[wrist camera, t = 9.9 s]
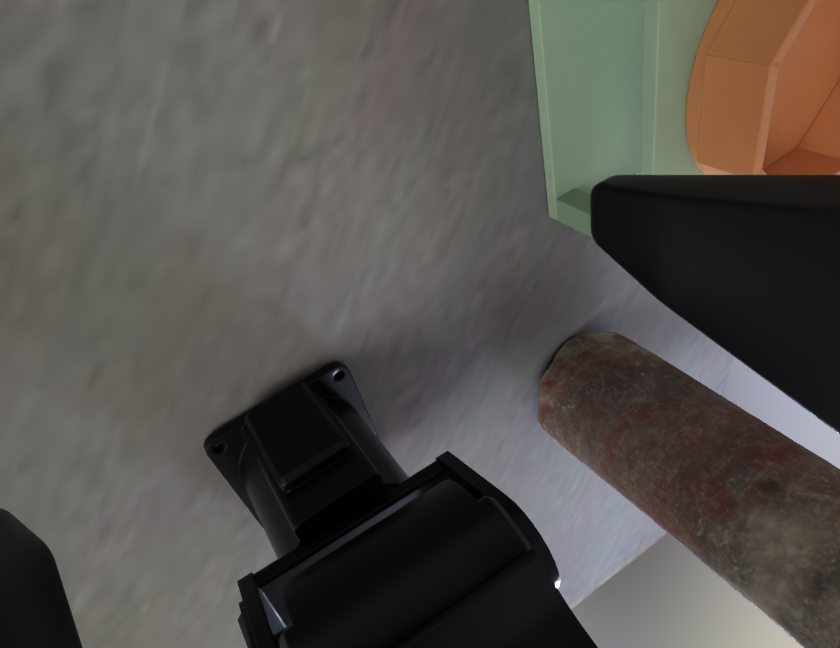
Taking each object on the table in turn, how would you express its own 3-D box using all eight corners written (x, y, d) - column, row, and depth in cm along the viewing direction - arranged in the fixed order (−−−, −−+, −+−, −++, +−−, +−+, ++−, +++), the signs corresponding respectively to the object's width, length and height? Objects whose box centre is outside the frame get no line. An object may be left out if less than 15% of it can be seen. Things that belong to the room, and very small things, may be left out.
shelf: (721, 116, 31) (837, 145, 27) (548, 217, 28) (649, 267, 24) (752, -172, 24) (921, -195, 19) (519, -80, 20) (662, -85, 16)
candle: (639, 324, 37) (1050, 569, 23) (592, 421, 40) (934, 694, 25) (558, 323, 32) (1009, 627, 18) (511, 432, 35) (873, 773, 21)
